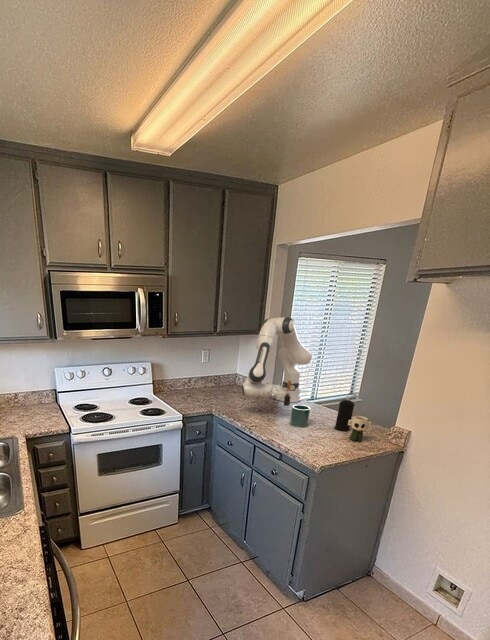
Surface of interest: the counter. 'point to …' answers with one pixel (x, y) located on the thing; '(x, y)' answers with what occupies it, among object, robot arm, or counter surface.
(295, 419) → the green cup
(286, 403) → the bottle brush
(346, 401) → the aerosol can
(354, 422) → the cartoon character figurine
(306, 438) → the counter surface
